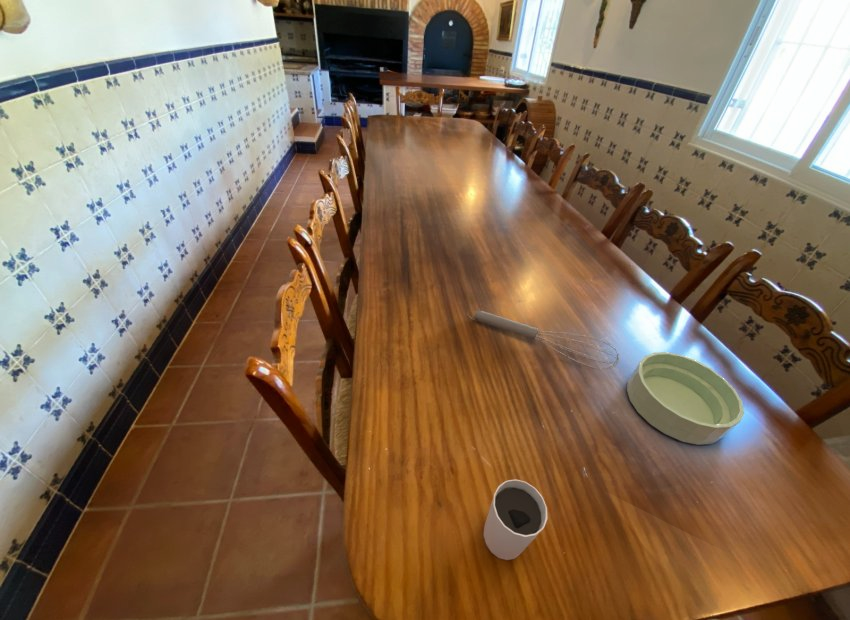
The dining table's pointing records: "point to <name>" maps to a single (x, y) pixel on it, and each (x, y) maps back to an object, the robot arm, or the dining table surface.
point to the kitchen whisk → (532, 332)
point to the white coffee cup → (514, 519)
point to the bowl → (684, 398)
